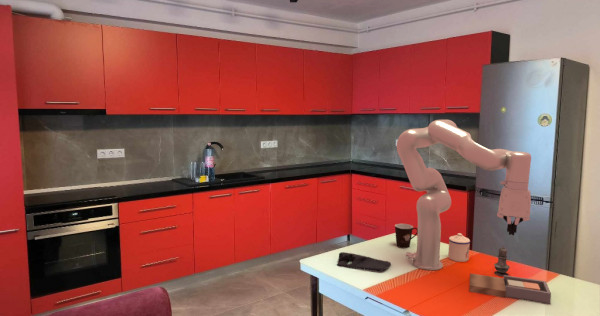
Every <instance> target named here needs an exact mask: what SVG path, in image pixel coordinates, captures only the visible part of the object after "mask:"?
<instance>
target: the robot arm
mask: <svg viewBox="0 0 600 316" xmlns="http://www.w3.org/2000/svg"><path fill="white" fill-rule="evenodd" d="M396 141H397V142H396V151H397V154H398V156H399V158H400V160H401V163H402V165H403V167H404V170H405V173H406V175H407V177H408V178H407V179H408V180H409V183H410V185H411V187H412V189H413V190H414V191H416V192H426V193H424V194H423V195H421V196H420V197H419V198H418V200H417V201H416V213H417V229H418V233H417V235H416V236H417V238H416V252H409V251H408V252H406V253H405V257H406V258H408V259H412V265H414V266H415V267H416V268H418V269H421V270H427V271H437V270H441V269H442V268H443V267H444V264H443V261H441V260H440V255H441V252H440V251H441V237H442V236H441V235H442V234H441V232H442V223H441V218H440V214H441V213H444V212H446V211H448V210H449V209H450V208H451V206H452V198H451V195H450V193H449V190H448V188H447V185H446V183H445V180H444V179H443V176H442V174H441V173H440V172H439V171H438V170H437V169H435V168H433V167H427V166H426V164H425V162H424V159H423V156H422V155H420V153H419V152H418V151H417V149H420V148H427V147H430V146H434V145H437V144H441V145H443V146H445V147H447V148H449V149H451V150H453V151H455V152H457V153H458V154H459V155H460V156H461V157H463V158H464V160H466V161H468V162H469V163H471V164H473V165H474V166H477V167H479V168H481V169H482V170H485V171H496V170H502V169H505V179H504V180H501V181H500V186H501V185H502V186H503V187H502V189H501V191H500V196H499V202H498V211H497V213H496V216H497V217H498V218H500V219H504V221H505V222H506V223H507V228H506V232H507V233H508V235H509V236H515V233H517V229H518V225H519V224H521V223H522V222H526V221H530V220H531V218H530V217H531V216H530V215H531V205H532V203H531V202H532V201H531V200H532V199H531V198H532V197H531V190H529V181H530V173H531V172H530V171H531V162H532V155H531V153H529V152H527V151H519V150H518V151H515V150H514V151H513V150H509V149H503V148H495V149H490V148H488V147H485V146H483V145H481V144H479V143H477V142H475V141H474V140H473V139H472V135H471V133H469V132H468V131H465V130H463V129H462V128H460V127H458V126H457V124H456V123H455V122H454V121H452V120H450V119H436V120H433V121H432V122H430V123H429V125H428V126H426V127H423V128H422V127H421V128H420V127H419V128H409V129H406V130H404V131H403V132H402V133H401V134H400V135H399V136H398V138H397V140H396ZM512 218H514V220H513V221H512Z"/></svg>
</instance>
